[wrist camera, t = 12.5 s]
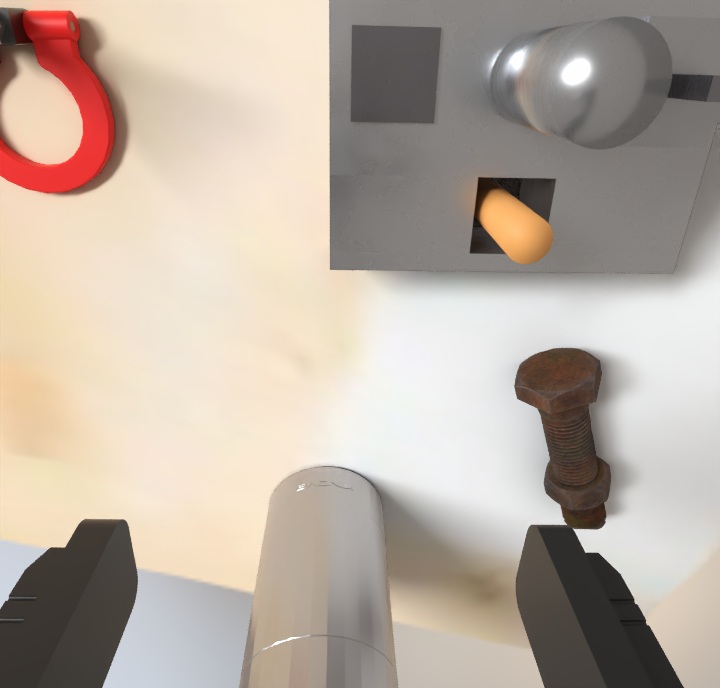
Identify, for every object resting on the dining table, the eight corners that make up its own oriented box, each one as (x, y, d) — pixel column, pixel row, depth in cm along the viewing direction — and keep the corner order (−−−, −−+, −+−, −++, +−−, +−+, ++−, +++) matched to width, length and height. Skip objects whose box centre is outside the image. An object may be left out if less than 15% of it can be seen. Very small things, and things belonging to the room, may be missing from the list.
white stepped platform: (703, 245, 36) (900, 344, 23) (331, 240, 35) (326, 341, 22) (821, -132, 27) (1240, -301, 14) (331, -152, 26) (322, -350, 14)
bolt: (558, 488, 47) (527, 344, 40) (623, 495, 44) (601, 342, 37) (545, 543, 43) (507, 395, 36) (615, 555, 40) (589, 397, 33)
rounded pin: (499, 175, 33) (557, 216, 24) (495, 211, 34) (549, 263, 25) (462, 175, 33) (507, 216, 24) (460, 212, 34) (501, 264, 25)
